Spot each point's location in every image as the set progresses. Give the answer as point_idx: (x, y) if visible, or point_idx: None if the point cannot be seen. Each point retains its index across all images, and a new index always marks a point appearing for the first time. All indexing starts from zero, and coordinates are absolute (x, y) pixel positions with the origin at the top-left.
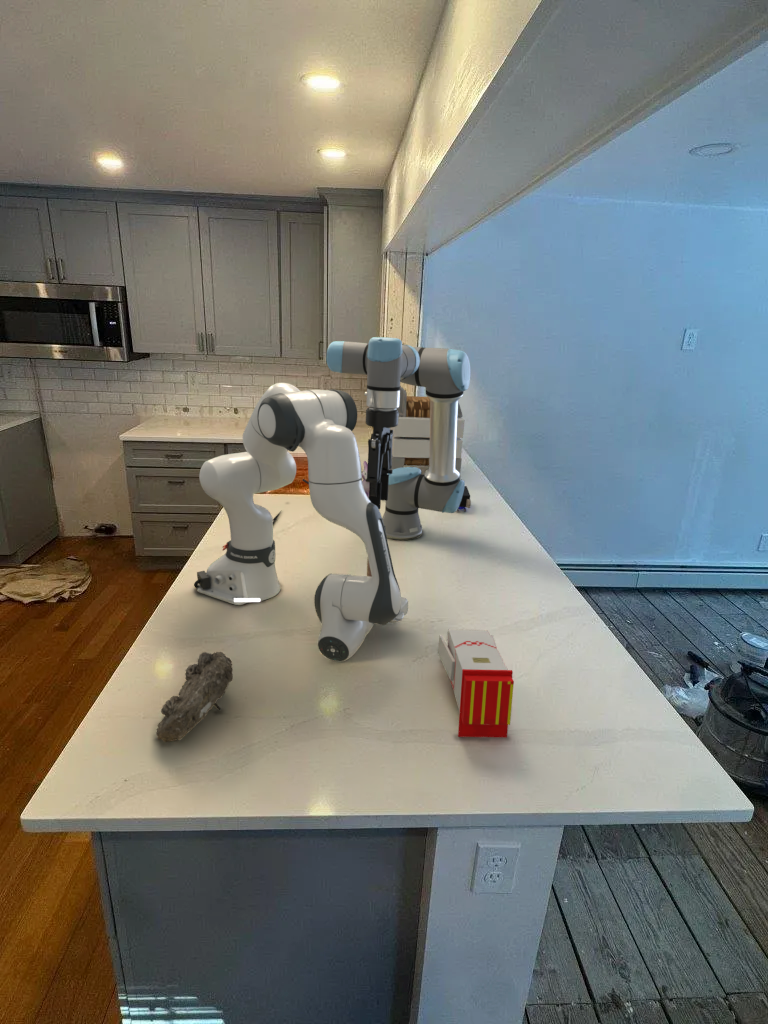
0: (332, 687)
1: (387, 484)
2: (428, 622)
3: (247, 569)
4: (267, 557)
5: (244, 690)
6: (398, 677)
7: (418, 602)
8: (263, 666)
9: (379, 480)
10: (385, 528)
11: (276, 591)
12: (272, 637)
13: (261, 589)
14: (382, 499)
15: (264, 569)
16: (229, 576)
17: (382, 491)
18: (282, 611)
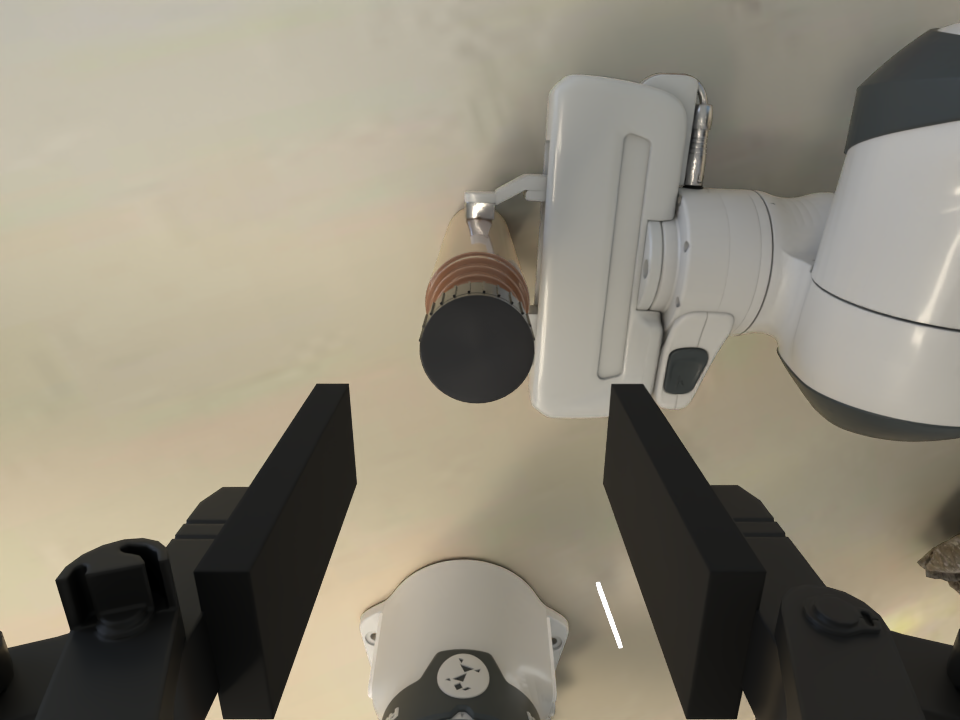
0: None
1: (301, 482)
2: (474, 5)
3: (540, 697)
4: (493, 686)
5: (956, 443)
6: (859, 39)
7: (331, 84)
8: (848, 443)
9: (866, 624)
10: (456, 294)
11: (469, 566)
12: (706, 477)
13: (517, 607)
14: (352, 431)
15: (502, 655)
16: (553, 715)
17: (330, 481)
18: (560, 507)
